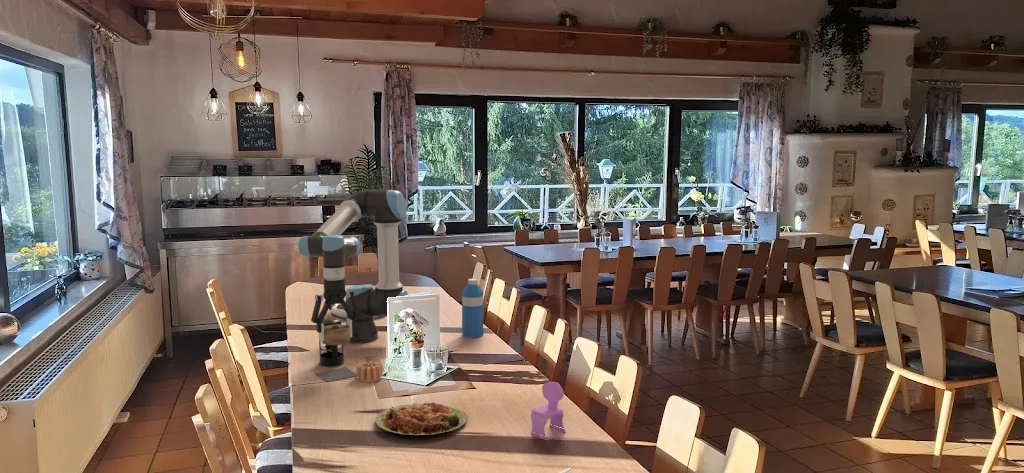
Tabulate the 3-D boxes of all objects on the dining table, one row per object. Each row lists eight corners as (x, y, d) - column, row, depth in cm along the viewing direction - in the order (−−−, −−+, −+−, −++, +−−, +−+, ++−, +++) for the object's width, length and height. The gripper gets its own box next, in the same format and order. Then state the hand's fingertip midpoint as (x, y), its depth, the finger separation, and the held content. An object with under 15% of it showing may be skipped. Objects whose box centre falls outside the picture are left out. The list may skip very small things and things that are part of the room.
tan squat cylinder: (317, 340, 265) (317, 324, 264) (343, 336, 270) (342, 320, 270) (328, 346, 257) (327, 330, 256) (354, 342, 262) (354, 326, 262)
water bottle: (482, 338, 316) (482, 281, 313) (461, 337, 316) (461, 281, 313) (483, 332, 326) (483, 277, 322) (463, 332, 326) (462, 277, 323)
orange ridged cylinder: (352, 377, 262) (352, 364, 261) (375, 373, 267) (375, 359, 267) (363, 384, 255) (363, 370, 254) (386, 379, 260) (386, 366, 259)
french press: (316, 360, 282) (314, 302, 279) (340, 357, 286) (339, 300, 283) (323, 369, 271) (321, 309, 268) (348, 365, 276) (346, 306, 273)
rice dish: (423, 403, 240) (423, 387, 239) (486, 420, 222) (485, 403, 222) (356, 429, 218) (355, 411, 218) (419, 449, 201) (418, 430, 200)
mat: (314, 373, 266) (314, 372, 266) (345, 367, 273) (345, 366, 273) (327, 382, 257) (327, 381, 257) (358, 375, 264) (358, 375, 264)
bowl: (326, 310, 369) (325, 294, 368) (384, 305, 381) (383, 290, 380) (337, 323, 342) (337, 307, 341) (399, 317, 354) (399, 301, 353)
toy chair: (527, 433, 212) (527, 384, 210) (547, 425, 218) (548, 377, 216) (548, 442, 206) (548, 391, 204) (568, 433, 212) (569, 384, 211)
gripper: (307, 283, 251) (309, 346, 254) (367, 276, 264) (369, 336, 267) (299, 280, 257) (301, 341, 260) (359, 273, 270) (360, 331, 273)
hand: (335, 338), depth 263 cm, fingers closed on tan squat cylinder, 10 cm apart
